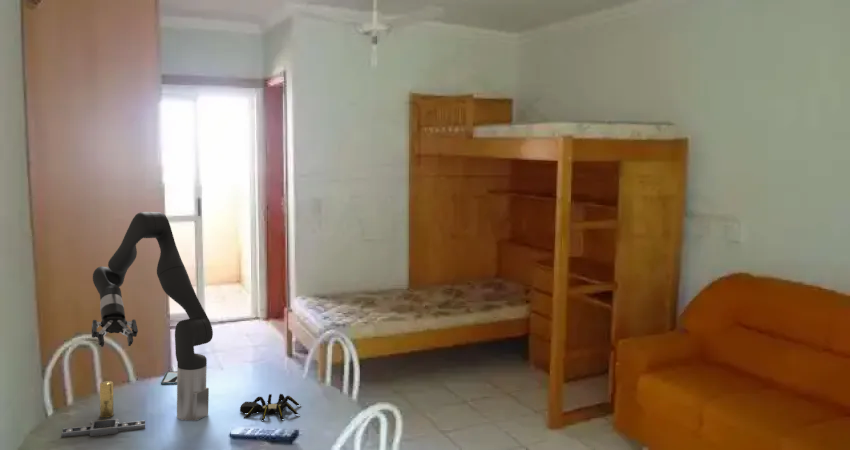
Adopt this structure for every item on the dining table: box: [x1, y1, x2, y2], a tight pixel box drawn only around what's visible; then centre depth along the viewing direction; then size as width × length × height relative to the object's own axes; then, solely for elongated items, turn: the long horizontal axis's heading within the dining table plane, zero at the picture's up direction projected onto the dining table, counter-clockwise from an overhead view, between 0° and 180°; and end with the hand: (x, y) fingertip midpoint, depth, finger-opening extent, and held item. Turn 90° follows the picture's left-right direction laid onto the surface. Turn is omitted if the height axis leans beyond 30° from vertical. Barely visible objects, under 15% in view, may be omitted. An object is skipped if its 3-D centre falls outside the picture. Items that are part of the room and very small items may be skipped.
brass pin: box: [99, 380, 114, 419], centre depth 221 cm, size 4×4×11 cm
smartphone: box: [160, 370, 177, 386], centre depth 260 cm, size 7×1×15 cm
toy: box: [239, 393, 300, 421], centre depth 231 cm, size 18×21×5 cm
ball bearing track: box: [60, 418, 146, 438], centre depth 209 cm, size 24×8×2 cm, turn 113°
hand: (116, 344), depth 225 cm, fingers open, 8 cm apart
